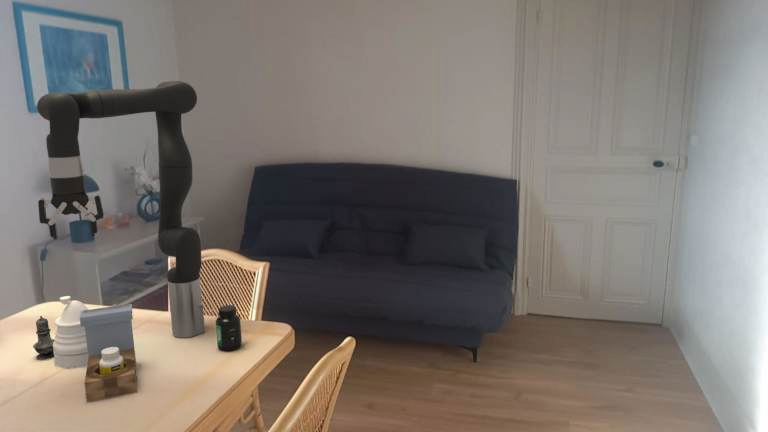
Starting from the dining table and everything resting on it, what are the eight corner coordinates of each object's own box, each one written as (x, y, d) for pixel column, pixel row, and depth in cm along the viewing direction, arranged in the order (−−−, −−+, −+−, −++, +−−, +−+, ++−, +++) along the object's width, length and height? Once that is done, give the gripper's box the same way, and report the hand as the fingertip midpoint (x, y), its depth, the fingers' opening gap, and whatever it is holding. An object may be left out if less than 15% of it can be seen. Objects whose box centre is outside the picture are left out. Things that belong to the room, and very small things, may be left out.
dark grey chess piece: (47, 361, 155) (41, 320, 153) (29, 359, 156) (23, 319, 154) (63, 351, 161) (58, 312, 158) (45, 350, 162) (40, 310, 159)
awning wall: (138, 361, 155) (131, 303, 151) (138, 370, 150) (131, 310, 146) (89, 370, 150) (81, 310, 146) (87, 379, 145) (79, 317, 142)
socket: (136, 365, 153) (134, 348, 151) (136, 391, 139) (134, 373, 138) (90, 373, 148) (88, 356, 147) (86, 401, 135) (84, 382, 134)
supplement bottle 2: (218, 353, 159) (215, 314, 156) (217, 343, 165) (214, 305, 163) (243, 350, 161) (240, 310, 159) (241, 340, 168) (238, 302, 165)
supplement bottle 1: (114, 393, 139) (109, 356, 137) (97, 389, 140) (92, 353, 138) (130, 382, 144) (126, 347, 142) (113, 379, 145) (109, 344, 143)
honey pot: (53, 372, 149) (44, 308, 145) (56, 352, 160) (47, 293, 156) (107, 361, 155) (100, 299, 151) (106, 343, 166) (98, 285, 162)
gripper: (31, 178, 135) (41, 243, 139) (97, 174, 141) (105, 237, 144) (36, 174, 142) (45, 236, 145) (99, 170, 147) (106, 230, 151)
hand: (75, 236), depth 145 cm, fingers open, 8 cm apart
